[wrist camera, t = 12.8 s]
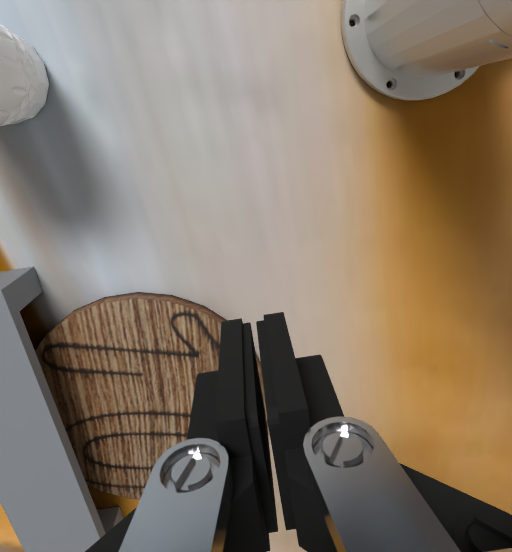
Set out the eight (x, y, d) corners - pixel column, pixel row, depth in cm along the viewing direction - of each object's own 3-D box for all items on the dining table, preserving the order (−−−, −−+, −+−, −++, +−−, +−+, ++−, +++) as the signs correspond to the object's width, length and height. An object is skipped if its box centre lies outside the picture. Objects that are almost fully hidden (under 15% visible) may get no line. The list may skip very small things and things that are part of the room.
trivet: (6, 294, 39) (-5, 303, 37) (267, 286, 40) (269, 294, 38) (55, 491, 48) (48, 505, 46) (268, 480, 49) (269, 494, 47)
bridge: (33, 266, 38) (1, 289, 32) (124, 521, 49) (111, 568, 44) (-52, 279, 38) (-99, 305, 32) (59, 531, 49) (38, 579, 44)
